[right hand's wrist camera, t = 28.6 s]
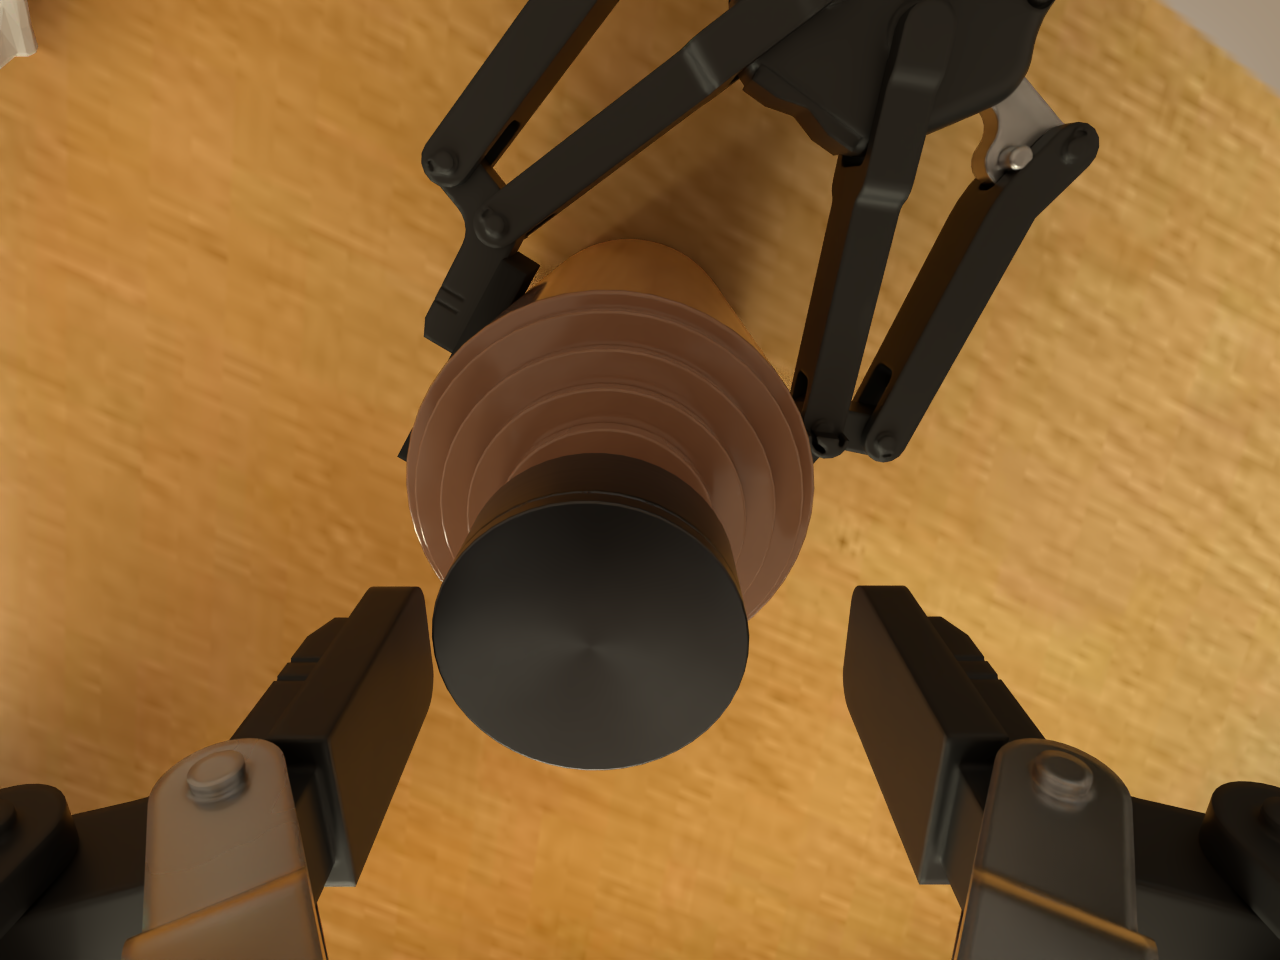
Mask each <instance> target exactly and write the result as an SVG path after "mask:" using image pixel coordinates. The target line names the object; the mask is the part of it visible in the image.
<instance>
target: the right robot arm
mask: <svg viewBox="0 0 1280 960" xmlns="http://www.w3.org/2000/svg"><path fill="white" fill-rule="evenodd" d="M277 677H278V678H277V681H274V682H273V683H272V684H271V685H270V687H269V688H268V689H267V691H266V692H265V693H264V695H263V696H262V697H261V699H260V700H259V701H258V703H257V704H256V705H255V707H254V708H253V709H252V711H251V712H250V713H249V715H248V716H247V717H246V719H245V720H244V721H243V723H242V724H241V725H240V727H239V728H238V729H237V731H236V732H235V733H234V735H233V736H232V737H231V739H230V740H228V741H224V742H221V743H217V744H214V745H211V746H208V747H206V748H203V749H201V750H199V751H197V752H195V753H193V754H191V755H189V756H187V757H186V758H184V759H182V760H181V761H180V762H178V763H177V764H175V765H174V766H173V767H171V768H170V769H169V770H168V771H167V772H166V773H165V774H164V775H163V776H162V777H161V778H160V779H159V780H158V781H157V783H156V784H155V786H154V787H153V789H152V791H151V793H150V796H149V797H146V798H142V799H139V800H135V801H131V802H127V803H122V804H118V805H113V806H109V807H105V808H100V809H96V810H91V811H87V812H83V813H78V814H74V815H71V813H70V810H69V807H68V804H67V802H66V799H65V796H64V795H63V793H62V792H61V791H60V790H58V789H57V788H55V787H52V786H49V785H44V784H25V785H17V786H12V787H8V788H3V789H0V960H329V958H328V953H327V948H326V943H325V938H324V933H323V928H322V923H321V919H320V914H319V910H318V905H317V901H318V899H319V897H320V894H321V892H322V890H323V888H324V887H356V884H357V882H358V879H359V877H360V874H361V872H362V870H363V867H364V865H365V862H366V860H367V857H368V855H369V853H370V850H371V848H372V845H373V843H374V840H375V838H376V836H377V833H378V831H379V828H380V826H381V823H382V821H383V819H384V816H385V814H386V811H387V809H388V806H389V804H390V802H391V799H392V797H393V794H394V792H395V789H396V787H397V785H398V782H399V780H400V777H401V775H402V772H403V770H404V768H405V765H406V763H407V760H408V758H409V755H410V753H411V751H412V748H413V746H414V743H415V741H416V738H417V736H418V734H419V731H420V729H421V726H422V724H423V721H424V719H425V717H426V714H427V712H428V709H429V706H430V702H431V697H432V691H433V664H432V656H431V648H430V640H429V631H428V623H427V615H426V607H425V600H424V595H423V592H422V590H421V588H420V587H370V588H369V589H368V590H367V592H366V593H365V594H364V596H363V597H362V599H361V600H360V602H359V603H358V605H357V606H356V607H355V609H354V610H353V612H352V613H351V615H350V616H349V618H334V619H332V620H331V621H329V622H328V623H326V624H325V625H323V626H322V627H321V628H319V629H318V630H316V631H315V632H313V633H312V634H310V635H309V636H307V638H306V639H305V640H304V642H303V643H302V644H301V646H300V647H299V648H298V650H297V651H296V652H295V654H294V655H293V656H292V658H291V663H287V664H286V666H285V667H284V668H283V670H282V671H281V672H280V674H279V675H278V676H277ZM843 686H844V694H845V699H846V704H847V707H848V710H849V712H850V715H851V717H852V720H853V722H854V725H855V727H856V729H857V732H858V734H859V737H860V739H861V742H862V744H863V747H864V749H865V752H866V754H867V757H868V759H869V762H870V764H871V766H872V769H873V771H874V774H875V776H876V779H877V781H878V784H879V786H880V789H881V791H882V794H883V796H884V799H885V801H886V803H887V806H888V808H889V811H890V813H891V816H892V818H893V821H894V823H895V826H896V828H897V831H898V833H899V836H900V838H901V840H902V843H903V845H904V848H905V850H906V853H907V855H908V858H909V860H910V863H911V865H912V868H913V870H914V873H915V875H916V877H917V880H918V882H919V884H950V885H951V887H952V889H953V891H954V894H955V896H956V898H957V900H958V902H959V905H960V907H961V909H962V910H961V914H960V919H959V923H958V928H957V933H956V938H955V943H954V948H953V953H952V958H951V960H1280V788H1279V787H1276V786H1272V785H1267V784H1263V783H1256V782H1246V781H1238V782H1230V783H1226V784H1223V785H1221V786H1220V787H1218V788H1217V789H1216V790H1215V791H1214V793H1213V794H1212V797H1211V800H1210V803H1209V805H1208V808H1207V811H1206V814H1205V813H1200V812H1196V811H1192V810H1187V809H1183V808H1178V807H1174V806H1170V805H1165V804H1161V803H1156V802H1152V801H1148V800H1143V799H1139V798H1135V797H1132V796H1130V793H1129V791H1128V789H1127V787H1126V786H1125V784H1124V783H1123V781H1122V780H1121V779H1120V778H1119V777H1118V776H1117V775H1116V774H1115V773H1114V772H1113V771H1112V770H1111V769H1110V768H1109V767H1107V766H1106V765H1105V764H1103V763H1102V762H1100V761H1099V760H1098V759H1096V758H1094V757H1093V756H1091V755H1089V754H1087V753H1085V752H1083V751H1081V750H1079V749H1077V748H1074V747H1072V746H1069V745H1066V744H1063V743H1059V742H1056V741H1052V740H1046V739H1045V738H1044V736H1043V735H1042V734H1041V732H1040V731H1039V730H1038V728H1037V727H1036V726H1035V724H1034V723H1033V722H1032V720H1031V719H1030V718H1029V716H1028V715H1027V714H1026V712H1025V711H1024V710H1023V708H1022V707H1021V706H1020V704H1019V703H1018V702H1017V700H1016V699H1015V698H1014V696H1013V695H1012V694H1011V692H1010V691H1009V689H1008V688H1007V687H1006V685H1005V684H1004V683H1003V681H1002V680H998V675H997V673H996V672H995V671H994V669H993V668H992V667H991V665H990V664H989V663H988V661H984V656H983V655H982V653H981V652H980V651H979V649H978V648H977V647H976V645H975V644H974V643H973V641H972V640H971V639H970V637H969V636H968V635H967V634H966V633H964V632H963V631H961V630H960V629H958V628H957V627H955V626H954V625H952V624H951V623H949V622H948V621H947V620H945V619H944V618H942V617H927V616H926V614H925V613H924V611H923V610H922V608H921V607H920V605H919V604H918V602H917V601H916V600H915V598H914V597H913V595H912V594H911V592H910V591H909V589H908V588H907V587H905V586H857V587H856V588H855V589H854V592H853V595H852V600H851V608H850V616H849V625H848V633H847V641H846V649H845V658H844V666H843Z"/></svg>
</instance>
